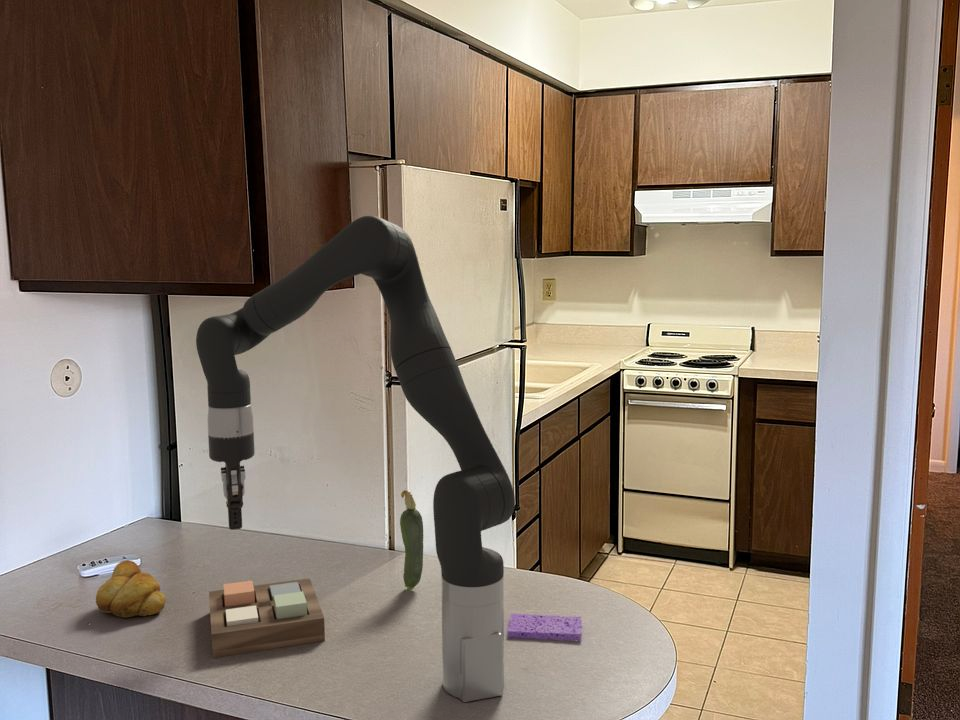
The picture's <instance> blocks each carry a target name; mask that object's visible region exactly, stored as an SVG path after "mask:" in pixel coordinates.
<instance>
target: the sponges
mask: <svg viewBox="0 0 960 720" xmlns="http://www.w3.org/2000/svg"><path fill="white" fill-rule="evenodd" d="M506 637H507V638H511V637H515V639H529V638H537V639H536V640H547V639H553V640H552V641H563V640H571V641H570V642H575V641H574V640H577V641H576V642H579V641H582V616H578V615H577V616H576V615H575V616H571V615H564V616H563V615H562V616H560V615H553V614H550V615H548V614H536V613H535V614H532V613H517V612H514V613H513V612H511V613H510V616H509V623H508V628H507V636H506Z"/></svg>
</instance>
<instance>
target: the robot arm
mask: <svg viewBox="0 0 960 720" xmlns="http://www.w3.org/2000/svg"><path fill="white" fill-rule="evenodd" d="M358 275H364V276H366V277H368V278H372V279H373V281H374V283H375V285H376V286H377V288H378V290H379V293H380V295H381V296H382V299H383V300H384V303H385V306H386V309H387V312H388V315H389V322H390V332H389V333H390V334H389V335H390V337H389V347H390V348H389V349H390V357H391V361H392V365H393V368H394V371H395V374H396V377H397V380H398V382H399V384H400V387H401V390H402V392H403V395H404V397H405V399H406V400H407V402H408V404H409V405H410V406H411V407H412V408H413V410H415V411H416V412H417V414H418V415H419V416H420V417H421V418H423V420H425V421H426V422H427V423H428V424H429V426H431V427H432V428H433V429H434V430H435V431H437V433H439V434H440V435H441V437H443V438H444V440H445V442H446V443H447V444H448V446H449V447H450V449H451V450H452V452H453V455H454V457H455V459H456V461H457V463H458V465H459V468H460V470H457V471H454V472H451V473H448V474H445V475H444V476H442V477H441V478H440V479H439V480H438V481H437V484H436V486H435V488H434V493H433V498H432V499H433V502H432V503H433V504H432V508H433V524H434V536H435V537H434V538H435V551H436V552H435V553H436V555H437V558H438V562H439V565H440V568H441V569H440V571H441V572H440V573H441V575H440V576H441V631H442V632H441V638H442V639H441V641H442V643H441V644H442V646H441V647H442V654H441V655H442V686H443V689H444V691H445V692H446V693H448V694H449V695H451V696H452V697H455V698H458V699H460V700H461V701H462V702H463V703H468V702H472V701H473V702H474V701H478V700H483V699H484V700H485V699H488V698H494V697H499V696H503V695H504V686H505V649H504V648H505V642H504V641H505V637H504V636H505V633H504V632H505V631H504V628H505V627H504V626H505V624H504V623H505V621H504V620H505V619H504V618H505V617H504V615H505V613H504V612H505V611H504V610H505V609H504V608H505V607H504V606H505V605H504V597H505V596H504V593H505V592H504V589H505V588H504V587H505V586H504V584H505V583H504V582H505V581H504V579H505V578H504V575H505V573H504V569H505V568H504V564H505V563H504V559H503V556H502V555H501V554H500V553H499V552H497V551H495V550H494V549H492V548H488V547H483V544H482V543H483V542H482V541H483V540H482V531H485V530H487V529H491V528H493V527H497V526H499V525H502V524H504V523H506V522H508V521H509V520H510V518H511V517H512V515H513V514H514V512H515V511H514V510H515V507H516V506H515V505H516V499H515V498H516V497H515V491H514V488H513V484H512V482H511V479H510V477H509V475H508V472H507V470H506V468H505V466H504V464H503V462H502V460H501V459H500V456H499V455H498V453H497V451H496V449H495V448H494V445H493V443H492V442H491V439H490V438H489V436H488V434H487V432H486V430H485V428H484V426H483V423H482V422H481V420H480V417H479V415H478V413H477V410H476V408H475V405H474V403H473V401H472V398H471V397H470V394H469V392H468V389H467V387H466V383H465V382H464V379H463V376H462V373H461V370H460V367H459V365H458V362H457V360H456V357H455V355H454V352H453V350H452V348H451V344H450V342H449V341H448V339H447V336H446V334H445V332H444V329H443V327H442V325H441V322H440V319H439V317H438V314H437V313H436V310H435V307H434V305H433V303H432V301H431V299H430V296H429V293H428V291H427V288H426V287H427V286H426V283H425V281H424V278H423V273H422V270H421V266H420V263H419V259H418V254H417V252H416V249H415V246H414V243H413V241H412V239H411V237H410V236H409V234H408V233H407V232H406V230H404V228H402V227H400V226H399V225H397V224H395V223H394V222H390V221H388V220H386V219H384V218H382V217H379V216H375V215H364V216H361V217H358V218H356V219H355V220H353V221H351V222H350V223H349V224H348V225H346V226H345V227H344V228H343V229H341V230H340V231H339V232H338V233H337V234H336V235H335V236H334V237H332V238H331V239H330V240H329V241H328V242H327V243H325V244H324V245H323V246H322V247H321V248H320V249H318V250H317V251H316V252H315V253H313V254H312V255H311V256H310V257H309V258H308V259H306V260H305V261H304V262H302V263H301V264H300V265H299V266H298V267H296V268H295V269H293V270H292V271H290V272H289V273H288V274H285V275H284V276H283V277H282V278H280V279H278V280H276V281H274V282H273V283H271V284H270V285H268V286H266V287H265V288H263V289H261V290H260V291H258V292H256V293H254V294H253V295H252V296H250V297H249V298H248V299H247V300H245V302H244V305H243V307H241V308H240V309H238V310H236V311H234V312H232V313H228V314H223V315H216V316H215V315H214V316H210V317H208V318H206V319H204V320H203V321H201V323H200V324H199V326H198V328H197V332H196V338H195V343H196V344H195V346H196V351H197V355H198V359H199V361H200V365H201V368H202V371H203V374H204V377H205V379H206V383H207V388H206V389H207V403H208V410H207V435H208V436H207V437H208V456H209V459H210V460H211V461H213V462H215V463H222V462H223V463H225V465H224V466H223V467H220V476H221V482H222V488H223V489H222V490H223V496H224V498H225V499H226V502H225V504H226V505H225V506H226V508H227V514H228V515H227V516H228V517H227V518H228V528H229V530H231V531H233V530H241V529H242V528H243V517H242V516H243V513H242V508H243V506H244V502H243V500H244V499H243V497H244V496H245V480H246V468H245V465H241V462H243V461H247V460H250V459H251V458H253V457H254V456H255V433H254V430H255V429H254V416H253V409H252V403H251V402H252V401H251V400H252V398H251V397H252V396H251V381H250V377H249V374H248V373H247V372H246V371H244V370H242V369H238V364H237V361H236V356H237V355H241V354H243V353H246V352H248V351H250V350H252V349H253V348H255V347H257V346H258V345H259V344H261V343H262V342H263V341H264V340H265V339H267V338H268V337H269V336H270V335H271V334H273V333H276V332H279V330H281V329H283V328H285V327H286V326H288V325H290V324H291V323H293V322H294V321H297V320H298V319H300V318H302V317H303V316H304V315H306V313H308V312H309V311H310V310H311V308H312V307H314V305H315V304H316V303H317V302H318V300H319V299H320V298H321V297H322V296H323V294H324V293H326V292H327V290H329V289H331V288H332V287H333V286H335V285H337V284H339V283H340V282H343V281H345V280H347V279H349V278H352V277H354V276H355V277H356V276H358Z"/></svg>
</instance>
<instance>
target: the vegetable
mask: <svg viewBox="0 0 960 720" xmlns="http://www.w3.org/2000/svg"><path fill="white" fill-rule="evenodd" d="M411 493H412V492H411V491H409V490H406V489H404V490H402V492H401V494H400V496H401V498H402V499H404V504H405V510H403V512H402V513H401V515H400V518H399V525H400V526H399V528H400V532H401V537H402V544H403V545H404V562H403V564H404V565H403V583H404V587H406V589H407V590H408V591H412V590H413V589H414V588H415V587H416V586H417V585H418V584H419V583H420V581H421V578H422V575H423V574H422V573H423V568H424V567H423V566H424V564H423V563H424V522H423V516H422V515H421V512H420V511H419V510H418V509H417V507H416V506H417V504H416V501H415V499H414V497H413V494H411Z"/></svg>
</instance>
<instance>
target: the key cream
mask: <svg viewBox="0 0 960 720" xmlns="http://www.w3.org/2000/svg"><path fill="white" fill-rule="evenodd" d="M255 622H258V613H257V608H256V605H255V606H248V607H241V608H234V609H226V627H227V626H234V625H241V624H248V623H255Z"/></svg>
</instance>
